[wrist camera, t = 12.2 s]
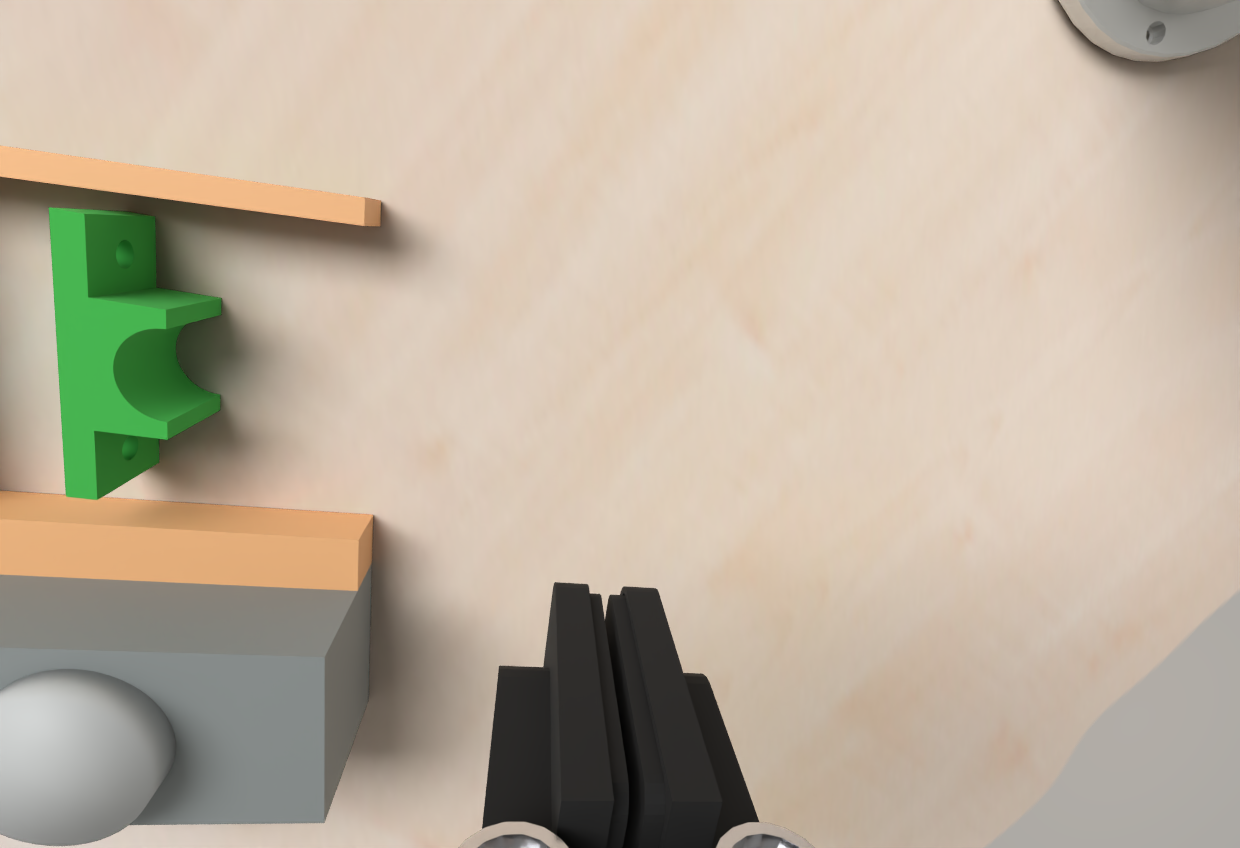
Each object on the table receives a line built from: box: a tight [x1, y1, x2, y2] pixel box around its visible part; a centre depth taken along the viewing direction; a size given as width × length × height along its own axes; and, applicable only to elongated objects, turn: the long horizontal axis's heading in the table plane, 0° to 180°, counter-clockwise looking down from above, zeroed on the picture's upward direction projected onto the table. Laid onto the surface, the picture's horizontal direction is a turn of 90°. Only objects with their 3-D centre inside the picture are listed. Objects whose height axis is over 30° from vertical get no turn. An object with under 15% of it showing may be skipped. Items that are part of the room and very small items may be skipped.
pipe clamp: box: [49, 207, 222, 500], centre depth 24 cm, size 10×4×4 cm, turn 169°
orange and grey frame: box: [0, 146, 381, 846], centre depth 23 cm, size 24×17×8 cm
